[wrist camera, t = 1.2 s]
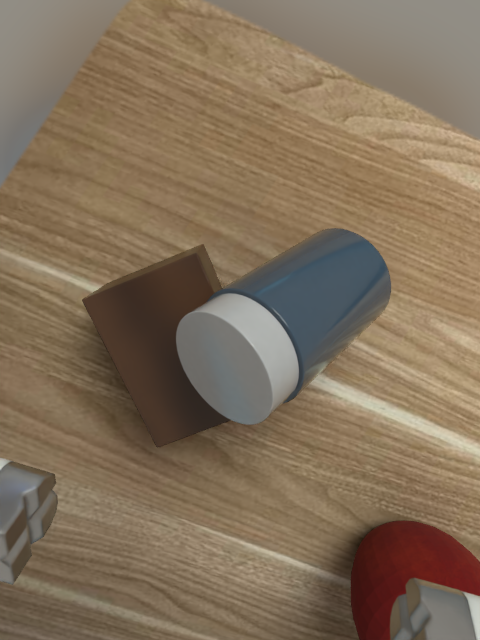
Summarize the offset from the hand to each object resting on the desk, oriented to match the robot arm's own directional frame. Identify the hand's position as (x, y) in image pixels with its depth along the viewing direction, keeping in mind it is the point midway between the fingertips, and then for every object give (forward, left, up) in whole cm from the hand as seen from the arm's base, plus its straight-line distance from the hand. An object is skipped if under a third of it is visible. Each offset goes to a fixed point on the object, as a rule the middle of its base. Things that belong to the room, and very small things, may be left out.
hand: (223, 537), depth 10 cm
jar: (-1, +3, -21) cm, 21 cm away
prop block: (+1, -3, -21) cm, 21 cm away
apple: (+19, +13, -21) cm, 31 cm away
